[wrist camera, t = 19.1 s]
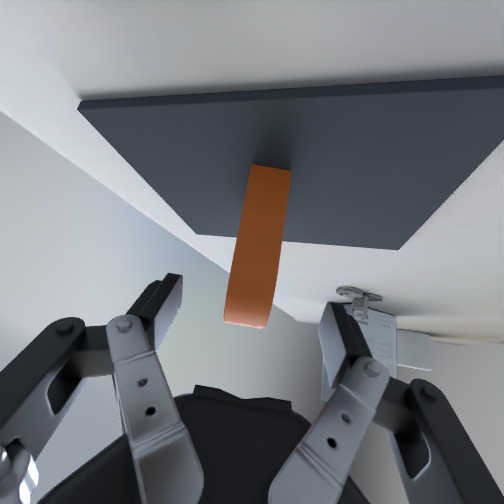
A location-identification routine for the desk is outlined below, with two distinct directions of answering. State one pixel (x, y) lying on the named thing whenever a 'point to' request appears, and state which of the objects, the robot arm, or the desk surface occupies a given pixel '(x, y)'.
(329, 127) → the felt mat
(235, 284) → the orange curved block
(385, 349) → the hard drive box
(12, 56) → the desk surface
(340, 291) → the strap clip
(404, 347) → the white paper roll
